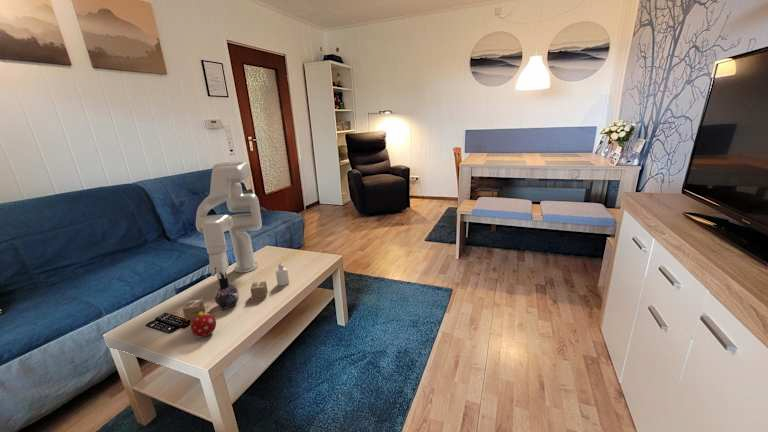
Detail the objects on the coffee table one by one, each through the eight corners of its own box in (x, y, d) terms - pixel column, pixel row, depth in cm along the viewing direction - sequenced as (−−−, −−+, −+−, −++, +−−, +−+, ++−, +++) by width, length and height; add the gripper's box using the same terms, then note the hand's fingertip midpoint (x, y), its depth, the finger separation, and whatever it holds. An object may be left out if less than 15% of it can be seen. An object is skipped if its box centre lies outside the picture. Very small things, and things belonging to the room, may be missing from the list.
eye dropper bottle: (280, 281, 161) (276, 260, 157) (290, 281, 160) (287, 260, 156) (276, 285, 156) (272, 264, 153) (286, 286, 156) (283, 264, 152)
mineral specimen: (221, 295, 146) (225, 277, 143) (241, 303, 146) (246, 286, 143) (207, 306, 137) (211, 287, 134) (228, 315, 137) (233, 297, 134)
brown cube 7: (190, 313, 136) (187, 300, 134) (205, 311, 137) (202, 298, 136) (185, 321, 131) (182, 308, 129) (201, 318, 132) (198, 306, 130)
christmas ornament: (214, 339, 118) (209, 316, 116) (189, 343, 117) (183, 320, 114) (220, 325, 126) (215, 304, 124) (197, 329, 125) (192, 307, 122)
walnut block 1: (254, 294, 150) (252, 282, 148) (267, 292, 151) (265, 280, 149) (252, 300, 144) (250, 288, 142) (266, 298, 146) (264, 286, 144)
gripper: (212, 243, 139) (219, 280, 144) (201, 255, 125) (210, 296, 130) (230, 241, 141) (237, 277, 146) (221, 253, 127) (229, 293, 132)
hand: (224, 286), depth 138 cm, fingers closed
